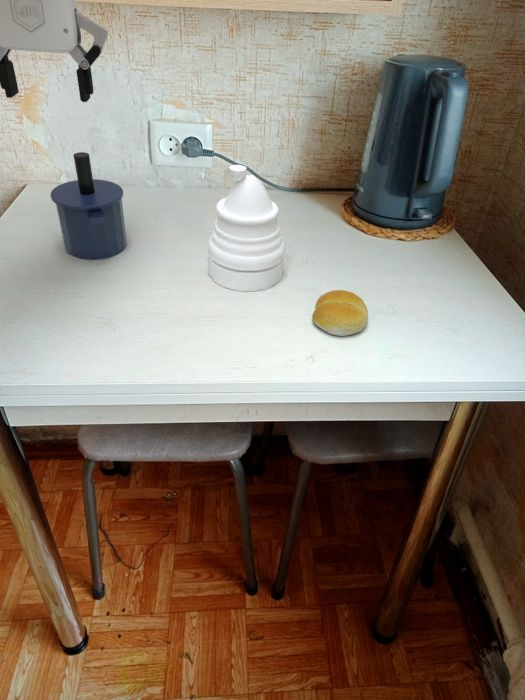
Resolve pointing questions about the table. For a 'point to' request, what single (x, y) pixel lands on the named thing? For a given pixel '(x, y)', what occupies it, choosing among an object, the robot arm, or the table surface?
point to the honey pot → (246, 237)
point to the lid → (86, 188)
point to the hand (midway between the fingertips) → (49, 97)
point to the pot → (93, 231)
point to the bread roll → (340, 313)
